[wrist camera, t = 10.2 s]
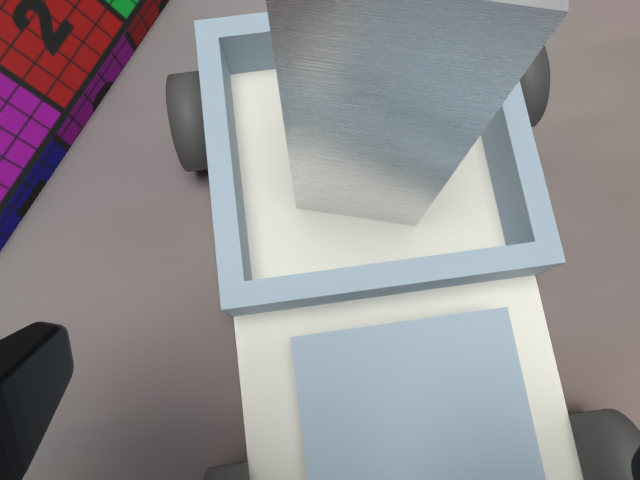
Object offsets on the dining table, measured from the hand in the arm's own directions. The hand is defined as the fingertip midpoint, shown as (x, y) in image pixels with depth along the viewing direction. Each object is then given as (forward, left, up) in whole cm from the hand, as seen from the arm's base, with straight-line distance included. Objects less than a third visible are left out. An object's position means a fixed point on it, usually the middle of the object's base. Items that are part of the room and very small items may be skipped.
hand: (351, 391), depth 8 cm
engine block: (+8, -2, -10) cm, 13 cm away
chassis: (+3, -2, -11) cm, 12 cm away
